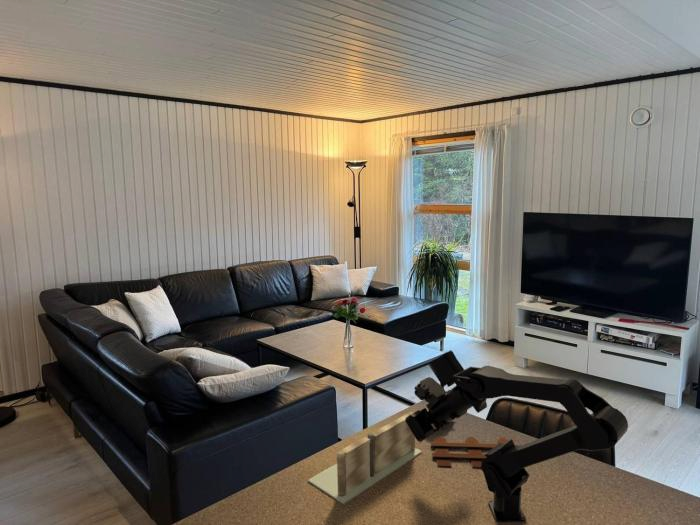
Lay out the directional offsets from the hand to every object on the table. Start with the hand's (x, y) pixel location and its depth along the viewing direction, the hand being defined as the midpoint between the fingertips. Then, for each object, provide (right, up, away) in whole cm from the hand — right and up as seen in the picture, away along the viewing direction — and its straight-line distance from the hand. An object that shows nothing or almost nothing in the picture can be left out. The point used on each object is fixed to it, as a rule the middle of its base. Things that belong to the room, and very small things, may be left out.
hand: (417, 429), depth 123 cm
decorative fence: (+16, -10, +8) cm, 21 cm away
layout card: (-13, -11, +3) cm, 17 cm away
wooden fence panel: (-16, -12, -5) cm, 20 cm away
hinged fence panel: (-5, -9, +5) cm, 12 cm away
